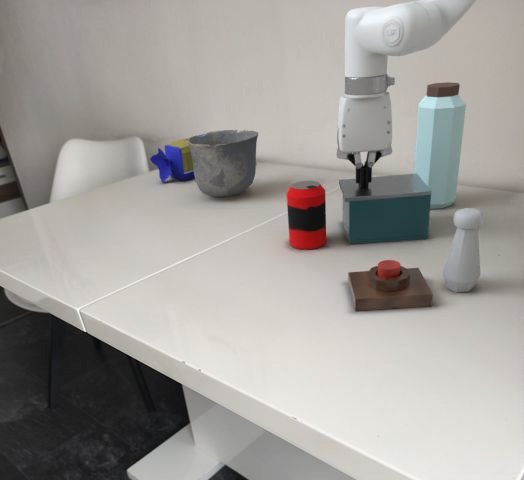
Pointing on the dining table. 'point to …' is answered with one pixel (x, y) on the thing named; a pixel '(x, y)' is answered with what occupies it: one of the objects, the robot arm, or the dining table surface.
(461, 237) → the salt shaker
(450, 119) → the water bottle
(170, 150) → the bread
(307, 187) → the soda can
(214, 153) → the cup
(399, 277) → the button block
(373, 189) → the lid
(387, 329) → the dining table surface
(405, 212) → the tin
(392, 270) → the button
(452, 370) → the dining table surface
